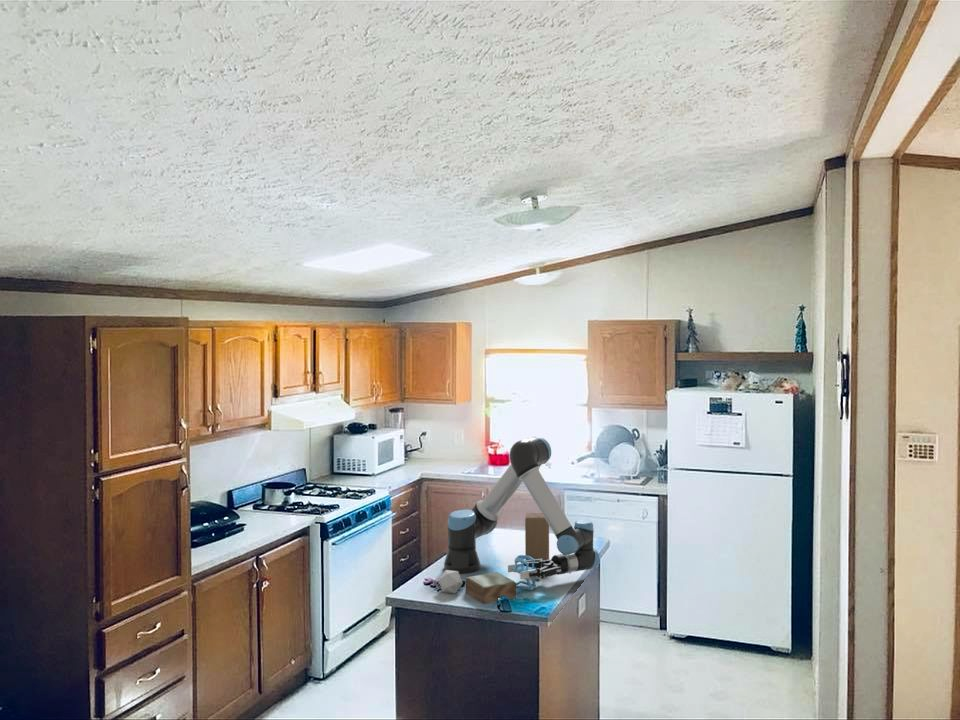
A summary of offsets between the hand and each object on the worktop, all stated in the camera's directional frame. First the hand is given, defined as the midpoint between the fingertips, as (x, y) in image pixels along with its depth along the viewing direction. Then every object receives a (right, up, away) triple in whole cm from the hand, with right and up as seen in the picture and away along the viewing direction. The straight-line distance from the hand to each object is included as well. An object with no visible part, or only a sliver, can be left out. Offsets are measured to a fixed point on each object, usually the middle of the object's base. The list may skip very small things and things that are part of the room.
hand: (514, 572), depth 292 cm
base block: (-9, -7, -5) cm, 13 cm away
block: (+12, -6, +39) cm, 41 cm away
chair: (+4, -7, +2) cm, 8 cm away
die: (-24, -8, 0) cm, 26 cm away
